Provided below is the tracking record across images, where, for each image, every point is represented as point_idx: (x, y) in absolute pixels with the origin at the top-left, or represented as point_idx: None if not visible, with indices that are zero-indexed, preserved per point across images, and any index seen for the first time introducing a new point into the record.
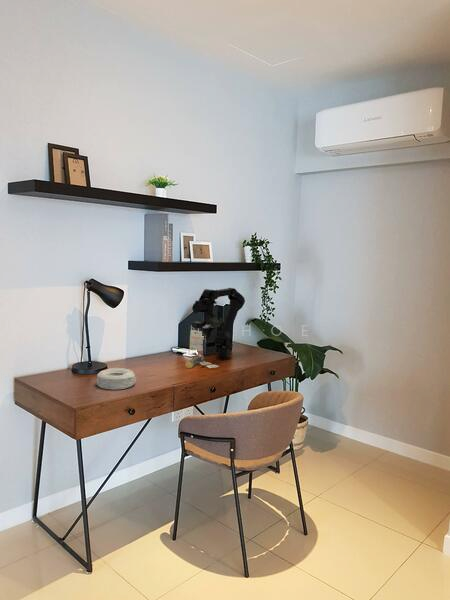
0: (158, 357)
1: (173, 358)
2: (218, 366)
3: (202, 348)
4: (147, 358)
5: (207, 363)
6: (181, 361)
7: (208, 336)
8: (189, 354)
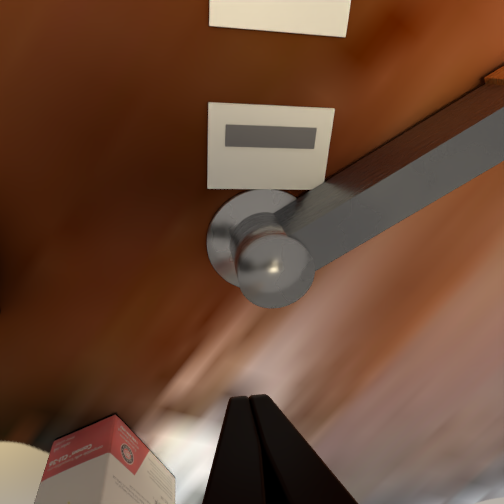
0: (429, 446)
1: (371, 403)
2: None
3: (87, 482)
4: (496, 442)
5: (255, 125)
6: (389, 314)
7: (262, 464)
8: (185, 465)
